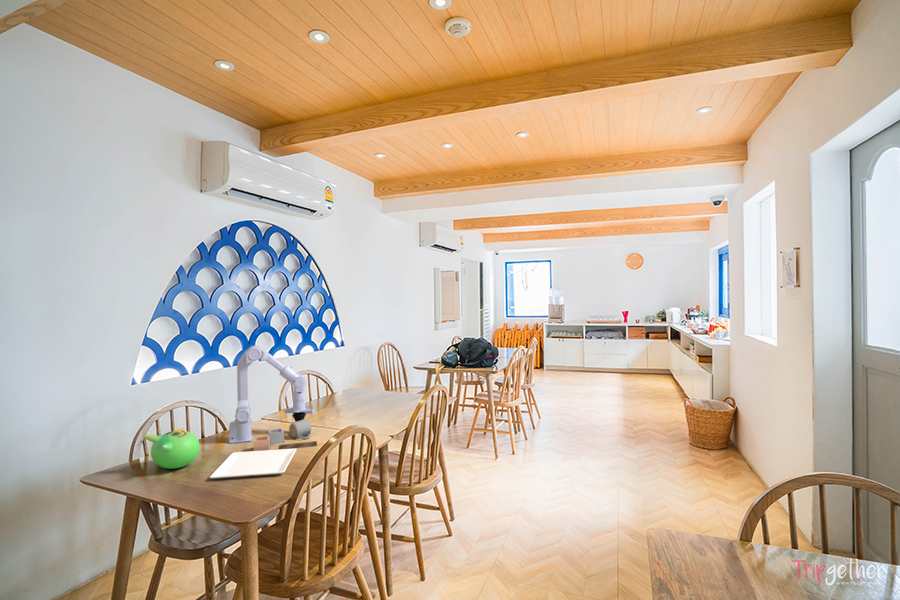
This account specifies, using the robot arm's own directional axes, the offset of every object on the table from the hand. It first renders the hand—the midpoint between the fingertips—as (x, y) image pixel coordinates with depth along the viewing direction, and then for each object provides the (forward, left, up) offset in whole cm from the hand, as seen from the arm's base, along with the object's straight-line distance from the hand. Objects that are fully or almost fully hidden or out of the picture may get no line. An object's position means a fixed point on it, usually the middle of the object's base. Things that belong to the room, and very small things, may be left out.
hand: (299, 427), depth 217 cm
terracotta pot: (-15, -21, -2) cm, 26 cm away
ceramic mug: (+1, -8, -3) cm, 8 cm away
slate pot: (-10, -11, -2) cm, 15 cm away
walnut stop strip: (0, -23, -2) cm, 23 cm away
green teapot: (-46, -31, -3) cm, 55 cm away
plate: (-15, -40, -3) cm, 43 cm away
